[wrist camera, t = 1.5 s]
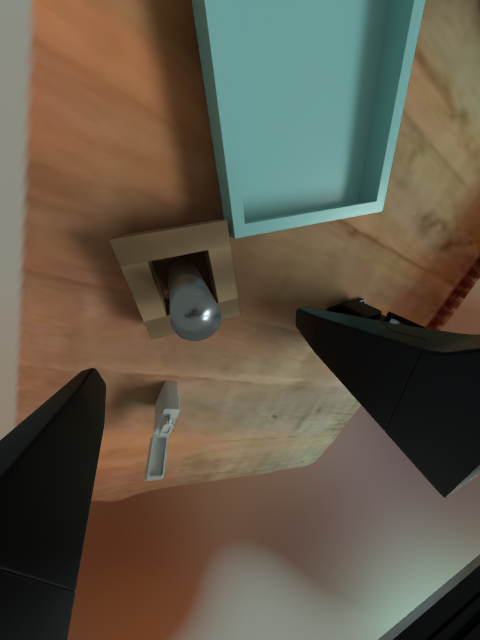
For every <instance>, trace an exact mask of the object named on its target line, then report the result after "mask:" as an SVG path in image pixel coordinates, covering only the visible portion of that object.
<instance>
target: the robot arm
mask: <svg viewBox="0 0 480 640" xmlns="http://www.w3.org/2000/svg"><path fill="white" fill-rule="evenodd" d="M330 311H331V312H330ZM296 327H297V329H298V330H299V331H300V333H301V334H302V336H303V337H304V338H305V340H306V341H307V343H308V344H309V345H310V347H311V348H312V349H313V351H314V352H315V353H316V354H317V355H318V356H319V358H320V359H321V360H322V361H323V362H324V363H325V364H326V366H327V367H328V368H329V369H330V370H331V371H332V372H333V373H334V375H335V376H336V377H337V378H338V379H339V380H340V381H341V382H342V384H343V385H344V386H345V387H346V388H347V389H348V390H349V391H350V393H351V394H352V395H353V396H354V397H355V398H356V399H357V400H358V402H359V403H360V404H361V405H362V406H363V407H364V408H365V409H366V411H367V412H368V413H369V414H370V415H371V416H372V417H373V418H374V420H375V421H376V422H377V423H378V424H379V425H380V426H381V427H382V429H383V430H385V432H386V433H387V435H388V436H389V437H390V438H391V439H392V440H393V441H394V442H395V443H396V445H397V446H398V447H399V448H400V449H401V450H402V451H403V452H404V454H405V455H406V456H407V457H408V458H409V459H410V460H411V461H412V463H413V464H414V465H415V466H416V467H417V468H418V470H420V472H421V473H422V474H423V475H424V476H425V477H426V478H427V480H428V481H429V482H430V483H431V484H432V485H433V486H434V487H435V489H436V490H437V491H438V492H439V493H440V494H441V495H442V496H443V497H444V498H446V497H447V496H449V495H450V494H452V493H453V492H455V491H456V490H457V489H459V488H460V487H462V486H463V485H465V484H466V483H468V482H469V481H470V480H472V479H473V478H475V477H476V476H478V475H479V474H480V335H468V334H458V333H452V332H445V331H438V330H431V329H428V328H426V327H424V326H421V325H419V324H417V323H414V322H412V321H410V320H408V319H405V318H403V317H401V316H398V315H396V314H394V313H391V312H388V313H387V316H384V315H382V312H381V311H380V310H378V309H376V308H374V307H371V306H369V305H367V304H366V300H365V299H359V300H354V301H351V302H347V303H344V304H342V305H338V306H335V307H331V308H329V309H328V310H327V311H324V310H319V309H314V308H309V307H302V308H299V309H297V310H296ZM105 400H106V385H105V382H104V380H103V379H102V377H101V376H100V374H99V373H98V371H97V370H96V369H95V368H90V369H87V370H83V371H81V372H80V373H79V374H78V375H76V376H75V377H74V378H73V379H72V380H70V381H69V382H68V383H67V384H66V385H65V386H63V387H62V388H61V389H60V390H59V391H58V392H56V393H55V394H54V395H53V396H52V397H51V398H49V399H48V400H47V401H46V402H45V403H44V404H42V405H41V406H40V407H39V408H38V409H36V410H35V411H34V412H33V413H32V414H31V415H29V416H28V417H27V418H26V419H25V420H24V421H22V422H21V423H20V424H19V425H18V426H17V427H15V428H14V429H13V430H12V431H11V432H10V433H8V434H7V435H6V436H5V437H4V438H3V439H1V440H0V640H67V638H68V632H69V626H70V620H71V614H72V609H73V603H74V597H75V592H74V591H75V590H76V584H77V579H78V573H79V567H80V562H81V556H82V550H83V544H84V539H85V533H86V527H87V521H88V515H89V510H90V504H91V498H92V492H93V487H94V481H95V475H96V469H97V464H98V458H99V452H100V446H101V440H102V435H103V429H104V420H105ZM378 640H480V555H479V556H477V557H476V558H475V559H474V560H473V561H471V562H470V563H469V564H468V565H467V566H466V567H464V568H463V569H462V570H461V571H460V572H458V573H457V574H456V575H455V576H453V577H452V578H451V579H450V580H449V581H447V582H446V583H445V584H444V585H443V586H442V587H440V588H439V589H438V590H437V591H436V592H434V593H433V594H432V595H431V596H430V597H428V598H427V599H426V600H425V601H424V602H422V603H421V604H420V605H419V606H418V607H417V608H415V609H414V610H413V611H412V612H411V613H409V614H408V615H407V616H406V617H405V618H403V619H402V620H401V621H400V622H399V623H397V624H396V625H395V626H394V627H393V628H391V629H390V630H389V631H388V632H387V633H385V634H384V635H383V636H382V637H381V638H379V639H378Z"/></svg>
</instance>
